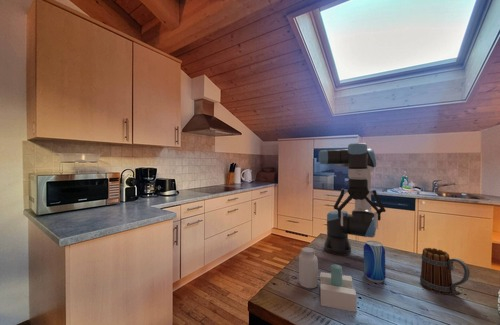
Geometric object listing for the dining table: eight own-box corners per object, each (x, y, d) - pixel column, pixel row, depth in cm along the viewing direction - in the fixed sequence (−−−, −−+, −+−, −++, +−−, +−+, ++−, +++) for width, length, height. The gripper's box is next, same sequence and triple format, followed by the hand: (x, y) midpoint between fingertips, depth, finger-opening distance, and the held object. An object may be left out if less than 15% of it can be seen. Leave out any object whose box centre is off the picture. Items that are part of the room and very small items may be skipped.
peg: (331, 293, 84) (330, 263, 84) (341, 295, 83) (341, 265, 83) (331, 300, 80) (331, 268, 80) (342, 302, 79) (342, 270, 79)
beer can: (388, 284, 90) (388, 247, 90) (367, 282, 92) (367, 246, 92) (380, 274, 98) (380, 240, 98) (361, 272, 100) (361, 239, 100)
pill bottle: (303, 290, 87) (303, 253, 87) (296, 279, 95) (295, 246, 95) (321, 288, 88) (321, 252, 88) (312, 277, 96) (312, 245, 96)
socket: (320, 285, 90) (320, 271, 90) (351, 291, 86) (351, 276, 86) (320, 305, 77) (320, 288, 77) (356, 312, 74) (356, 295, 74)
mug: (414, 283, 91) (413, 248, 91) (429, 278, 95) (428, 245, 95) (461, 305, 76) (460, 264, 76) (476, 298, 80) (475, 259, 80)
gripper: (327, 178, 93) (328, 226, 93) (393, 179, 84) (394, 231, 85) (327, 177, 100) (328, 221, 100) (388, 177, 91) (389, 226, 92)
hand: (358, 226), depth 92 cm, fingers open, 13 cm apart
